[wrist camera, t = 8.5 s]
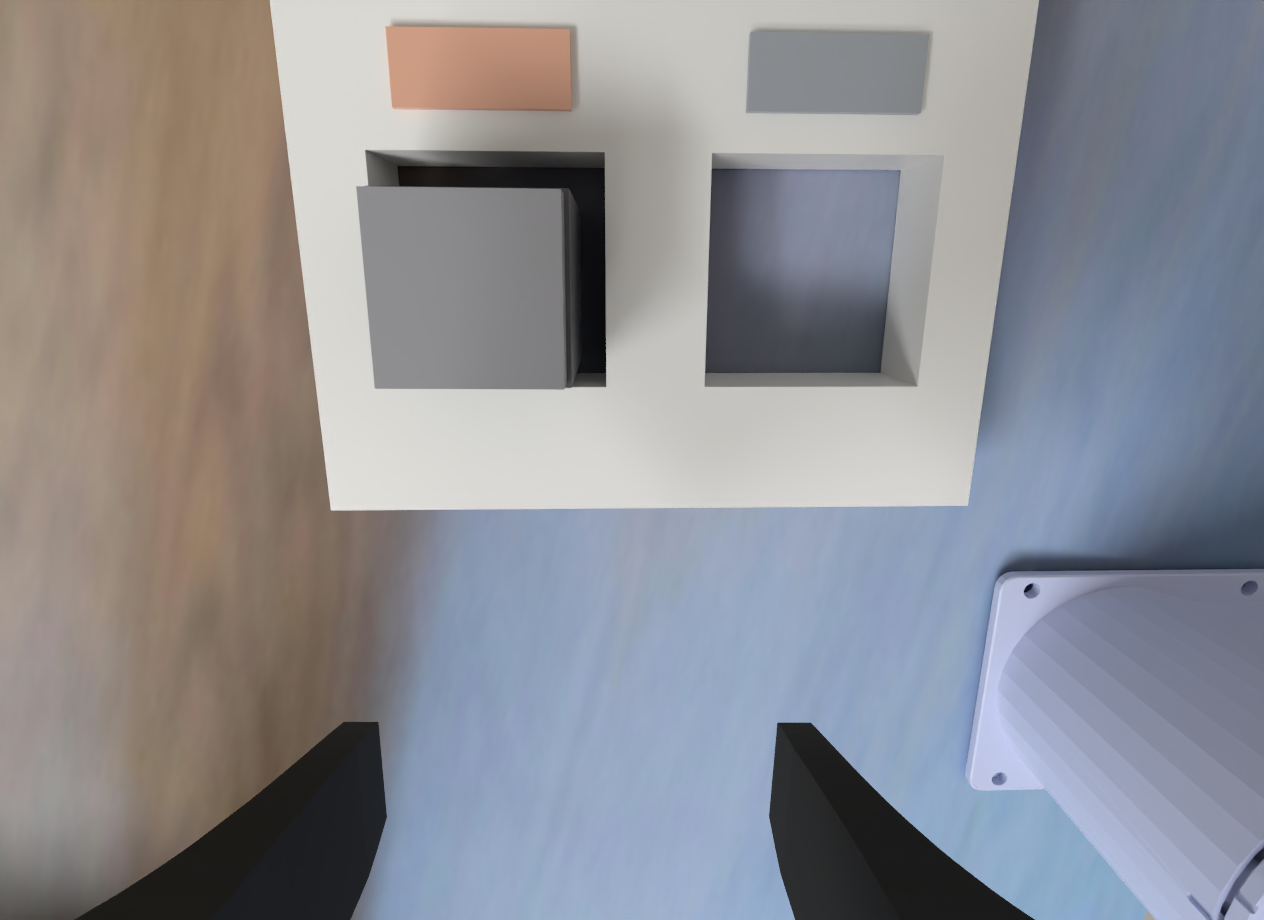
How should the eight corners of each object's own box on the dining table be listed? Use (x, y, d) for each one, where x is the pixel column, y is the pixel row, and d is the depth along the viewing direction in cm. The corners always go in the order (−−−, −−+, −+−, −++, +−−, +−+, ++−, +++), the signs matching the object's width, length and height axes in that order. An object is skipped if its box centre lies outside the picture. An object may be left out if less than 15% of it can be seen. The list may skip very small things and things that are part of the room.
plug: (580, 210, 19) (565, 183, 13) (581, 358, 20) (569, 394, 14) (431, 208, 18) (350, 180, 13) (441, 357, 20) (370, 393, 14)
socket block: (981, 36, 18) (1044, -5, 15) (926, 478, 21) (971, 507, 18) (316, 26, 17) (263, -18, 15) (363, 482, 20) (328, 512, 18)
